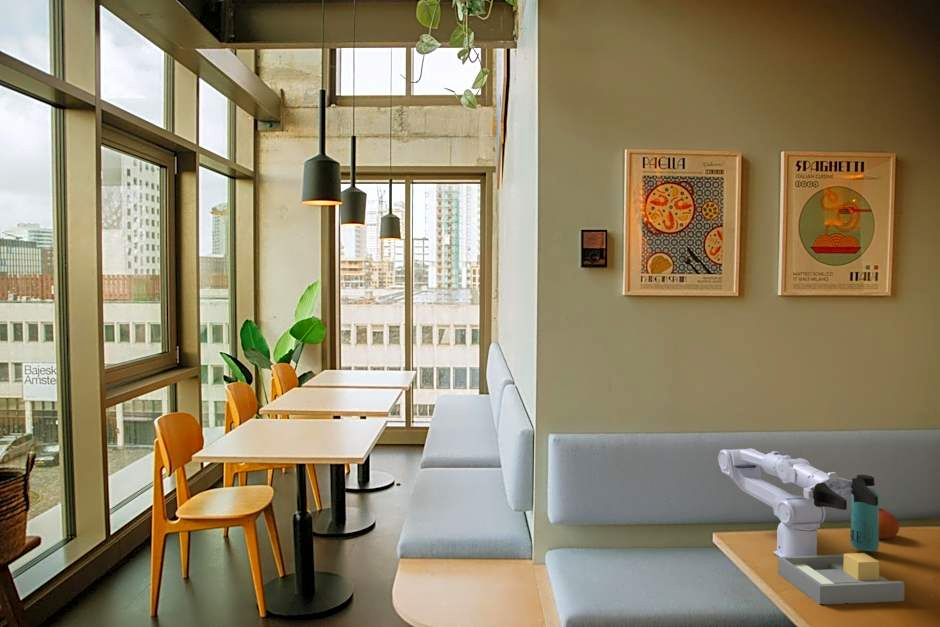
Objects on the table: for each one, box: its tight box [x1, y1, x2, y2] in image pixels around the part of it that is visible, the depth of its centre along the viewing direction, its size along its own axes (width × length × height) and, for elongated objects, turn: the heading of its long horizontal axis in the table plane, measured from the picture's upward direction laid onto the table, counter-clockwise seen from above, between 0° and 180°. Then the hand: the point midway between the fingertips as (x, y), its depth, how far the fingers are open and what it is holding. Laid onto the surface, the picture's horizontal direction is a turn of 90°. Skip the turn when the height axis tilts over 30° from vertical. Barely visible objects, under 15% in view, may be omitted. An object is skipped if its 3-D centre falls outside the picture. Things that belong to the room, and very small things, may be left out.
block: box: [843, 552, 880, 580], centre depth 150 cm, size 5×5×4 cm
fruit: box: [879, 507, 900, 540], centre depth 180 cm, size 9×9×8 cm
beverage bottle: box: [849, 474, 880, 552], centre depth 169 cm, size 6×7×20 cm
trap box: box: [777, 554, 905, 605], centre depth 149 cm, size 16×19×4 cm
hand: (860, 503), depth 144 cm, fingers open, 7 cm apart
